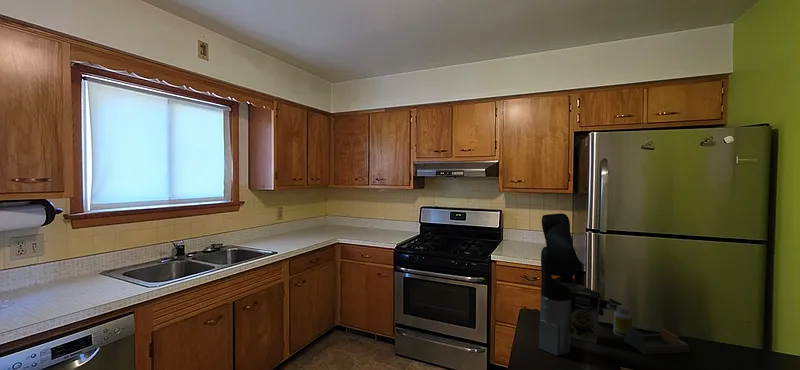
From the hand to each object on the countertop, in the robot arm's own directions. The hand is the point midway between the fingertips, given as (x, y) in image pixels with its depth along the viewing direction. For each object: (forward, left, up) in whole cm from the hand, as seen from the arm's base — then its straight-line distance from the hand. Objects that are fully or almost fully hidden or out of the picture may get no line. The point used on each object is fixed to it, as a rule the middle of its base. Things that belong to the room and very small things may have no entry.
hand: (613, 312), depth 129 cm
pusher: (0, -17, -5) cm, 17 cm away
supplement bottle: (-3, -4, -6) cm, 8 cm away
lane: (-3, -15, -6) cm, 16 cm away
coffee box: (-16, +4, -6) cm, 17 cm away
